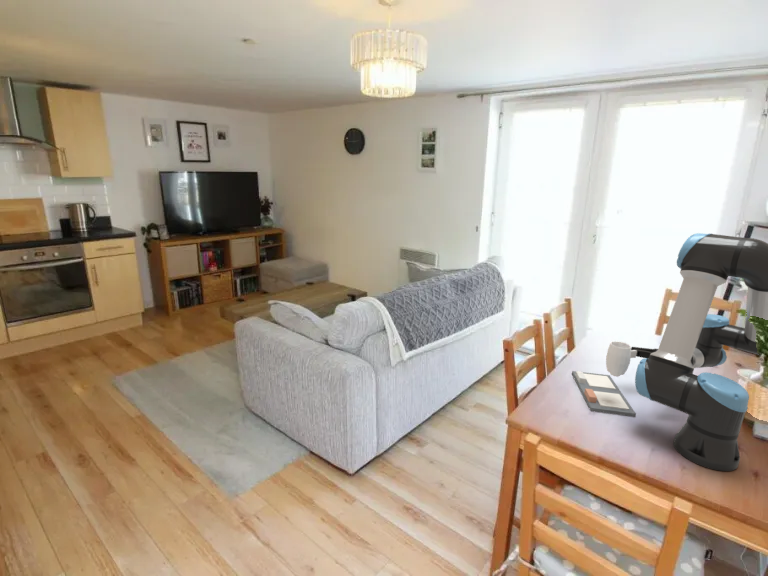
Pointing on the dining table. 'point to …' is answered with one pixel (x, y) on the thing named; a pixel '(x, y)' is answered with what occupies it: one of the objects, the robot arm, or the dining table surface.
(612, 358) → the cup
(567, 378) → the dining table surface
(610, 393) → the coaster board
